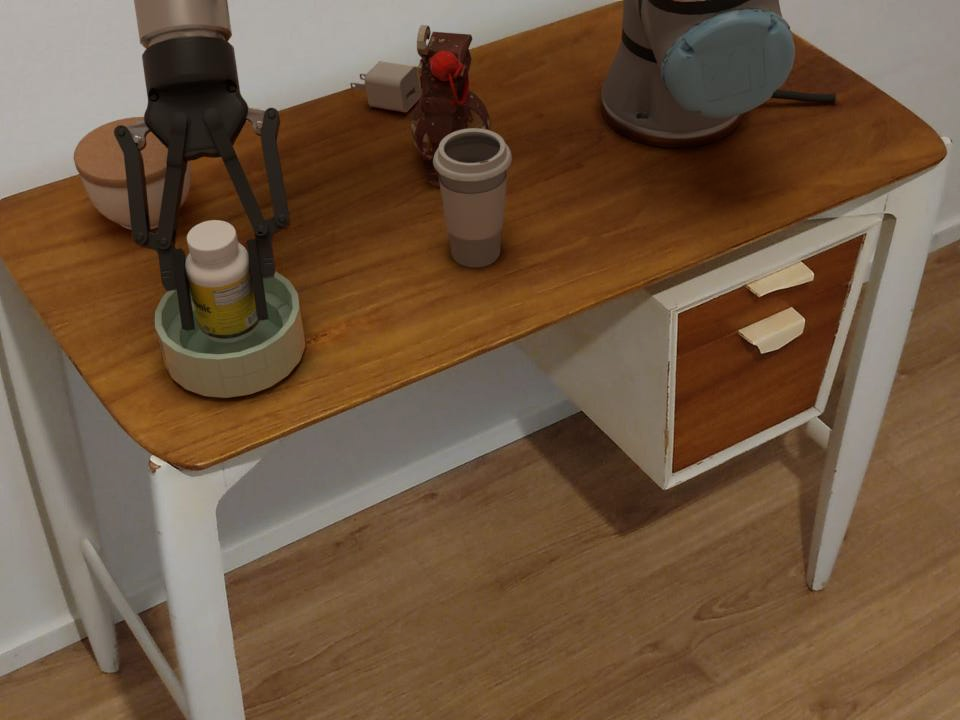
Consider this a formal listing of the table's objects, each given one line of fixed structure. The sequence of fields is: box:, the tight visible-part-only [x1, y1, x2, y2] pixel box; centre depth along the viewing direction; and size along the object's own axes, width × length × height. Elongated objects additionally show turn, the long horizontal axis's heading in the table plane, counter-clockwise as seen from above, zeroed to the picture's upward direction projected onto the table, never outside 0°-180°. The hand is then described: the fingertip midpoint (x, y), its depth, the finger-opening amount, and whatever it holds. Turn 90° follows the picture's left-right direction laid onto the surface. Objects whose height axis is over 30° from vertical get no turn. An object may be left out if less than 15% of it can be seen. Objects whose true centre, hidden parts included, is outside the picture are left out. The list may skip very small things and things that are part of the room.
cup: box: [433, 128, 513, 269], centre depth 119 cm, size 7×7×12 cm
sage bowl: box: [154, 270, 306, 399], centre depth 112 cm, size 12×12×5 cm
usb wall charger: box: [349, 60, 422, 113], centre depth 142 cm, size 4×7×4 cm, turn 64°
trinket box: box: [73, 116, 192, 231], centre depth 126 cm, size 11×11×9 cm
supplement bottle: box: [185, 219, 261, 343], centre depth 109 cm, size 5×5×10 cm
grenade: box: [410, 24, 492, 188], centre depth 129 cm, size 9×8×15 cm
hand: (225, 323), depth 107 cm, fingers closed on supplement bottle, 5 cm apart
